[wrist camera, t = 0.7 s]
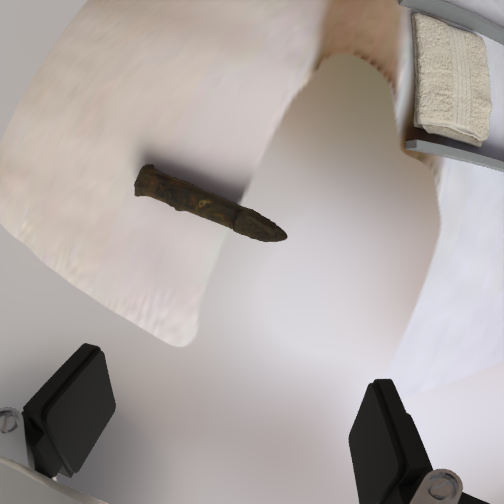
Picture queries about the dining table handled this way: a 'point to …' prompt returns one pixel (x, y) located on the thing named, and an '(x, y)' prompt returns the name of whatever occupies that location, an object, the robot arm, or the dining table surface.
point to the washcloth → (450, 81)
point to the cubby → (433, 4)
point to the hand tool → (206, 205)
